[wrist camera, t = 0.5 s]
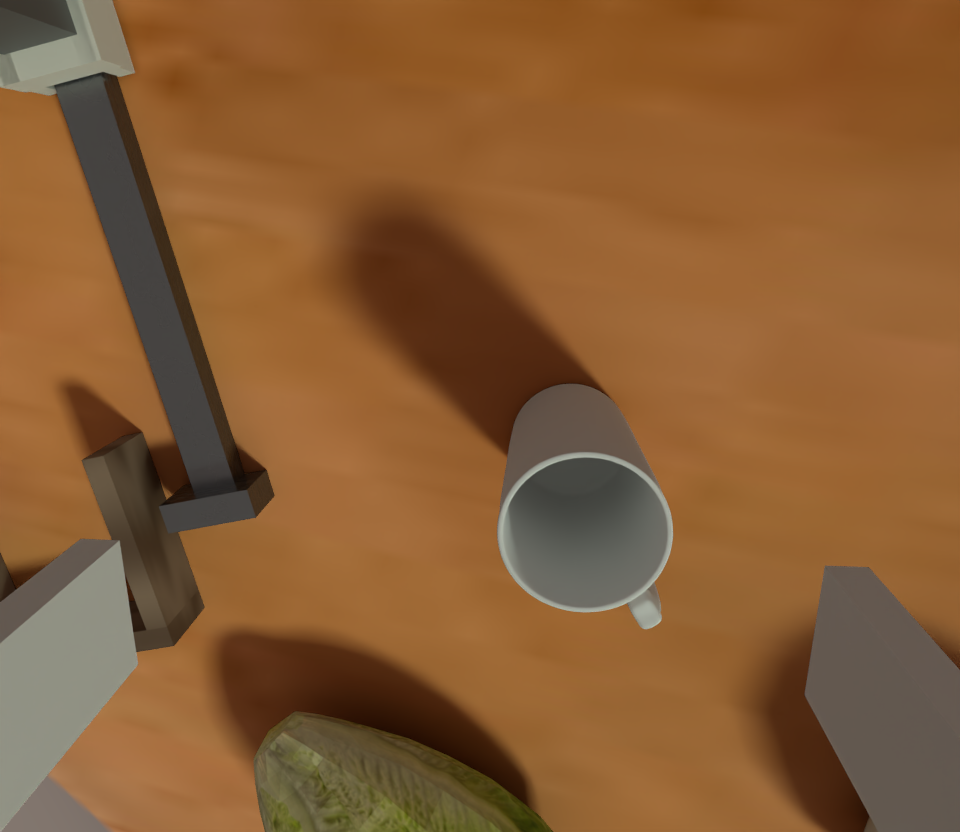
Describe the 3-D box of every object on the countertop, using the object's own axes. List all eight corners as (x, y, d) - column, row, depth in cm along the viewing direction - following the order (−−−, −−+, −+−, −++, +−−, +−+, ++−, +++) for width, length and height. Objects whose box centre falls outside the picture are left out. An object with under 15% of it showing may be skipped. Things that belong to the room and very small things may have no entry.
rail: (-35, -146, 34) (-87, -177, 31) (63, -177, 34) (20, -212, 31) (192, 511, 43) (168, 533, 40) (274, 495, 42) (255, 517, 40)
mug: (482, 419, 40) (463, 508, 29) (589, 352, 39) (614, 418, 27) (580, 563, 42) (599, 700, 31) (686, 505, 41) (746, 625, 29)
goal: (-55, 472, 43) (-112, 498, 40) (142, 432, 42) (103, 455, 38) (18, 639, 46) (-29, 678, 42) (204, 607, 45) (173, 646, 41)
